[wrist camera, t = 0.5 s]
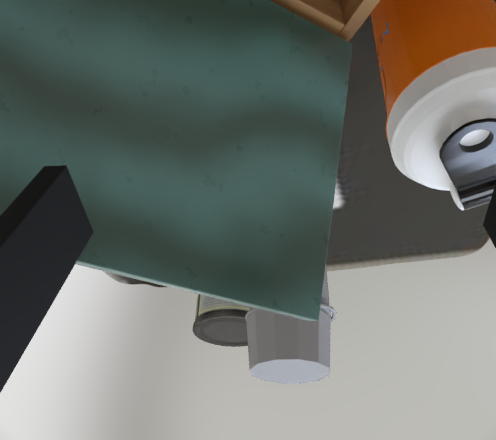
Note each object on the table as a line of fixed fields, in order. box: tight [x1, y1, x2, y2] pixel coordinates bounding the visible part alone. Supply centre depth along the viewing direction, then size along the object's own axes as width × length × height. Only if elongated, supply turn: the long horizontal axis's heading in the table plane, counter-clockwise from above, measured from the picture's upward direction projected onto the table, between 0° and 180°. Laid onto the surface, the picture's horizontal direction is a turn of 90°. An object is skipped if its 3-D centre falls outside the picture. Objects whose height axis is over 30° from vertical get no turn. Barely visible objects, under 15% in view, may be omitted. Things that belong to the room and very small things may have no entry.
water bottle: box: [245, 266, 337, 384], centre depth 43 cm, size 9×8×25 cm
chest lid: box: [0, 0, 353, 321], centre depth 19 cm, size 15×16×1 cm
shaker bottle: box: [370, 0, 496, 210], centre depth 28 cm, size 9×9×20 cm
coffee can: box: [193, 294, 250, 347], centre depth 61 cm, size 10×10×14 cm
